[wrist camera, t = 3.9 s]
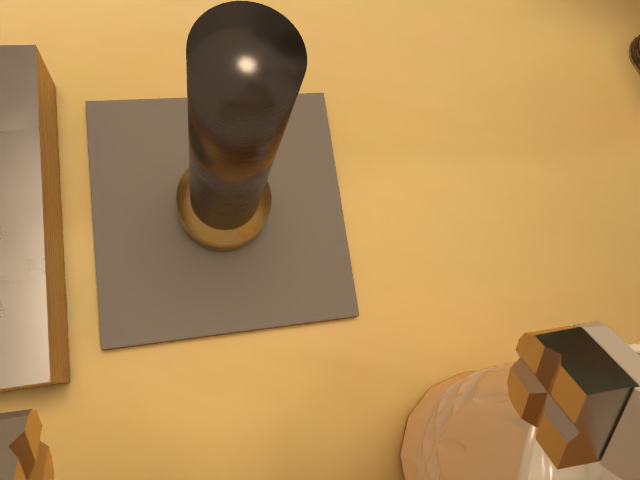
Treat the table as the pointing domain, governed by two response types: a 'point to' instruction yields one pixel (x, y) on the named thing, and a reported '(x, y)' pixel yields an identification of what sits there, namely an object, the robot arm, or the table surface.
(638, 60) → the lighter
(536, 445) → the white cup
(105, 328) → the grey square plate
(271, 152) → the dark grey peg
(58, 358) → the grey square frame
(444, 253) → the table surface
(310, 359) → the table surface
